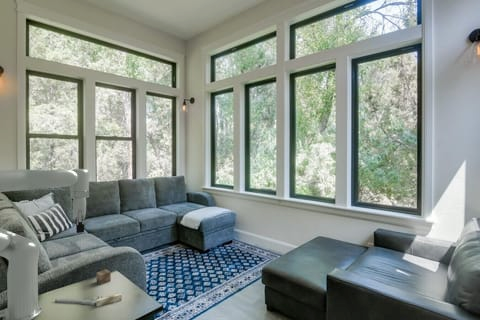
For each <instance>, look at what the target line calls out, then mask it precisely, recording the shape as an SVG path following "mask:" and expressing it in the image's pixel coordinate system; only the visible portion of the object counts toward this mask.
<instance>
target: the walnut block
mask: <svg viewBox="0 0 480 320" xmlns="http://www.w3.org/2000/svg"><path fill="white" fill-rule="evenodd" d="M111 274H112V273H111V271H109V270H108V269H103V270H101V271H96V276H95V277H96V283H97V284H99V285H100V286H101V285H104V284H107V283H110V282H111Z"/></svg>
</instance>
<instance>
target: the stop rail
mask: <svg viewBox="0 0 480 320" xmlns="http://www.w3.org/2000/svg"><path fill="white" fill-rule="evenodd" d="M122 299H123V297H122V293H121V292H120V293H117V294H112V295H110V296H104V297H102V298H101V299H97V305H96V307H101V306H104V305H108V304H112V303H116V302H120V301H122Z"/></svg>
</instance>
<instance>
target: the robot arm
mask: <svg viewBox="0 0 480 320" xmlns="http://www.w3.org/2000/svg"><path fill="white" fill-rule="evenodd" d="M65 187H70V199H73V201H72V219H73V220H76V226H75V227H76V228H75V230H76V234H79V233H80V234H81V233H85V222H84V221H85V220H84V219H85V218H86V215H87V214H86V213H87V198H90V171H89V170H88V169H86V168H74V169H63V168H57V169H55V170H54V169H52V170H51V169H49V170H48V169H47V170H44V169H43V170H42V169H41V170H40V169H26V168H25V169H22V168H21V169H0V193H5V192H16V191H31V190H32V191H33V190H40V189H55V188H65ZM39 256H40V246H39V245H38V244H37V242H36V241H34V240H33V239H31V238H28V237H25V236H22V235H20V234H17V233H14V232H13V231H10V230H7V229H4V228H2V227H0V257H3V258H5V259H7V260H8V267H7V274H6V275H7V276H6V279H7V281H6V282H7V284H6V285H7V287H6V288H7V289H6V291H7V308H6V307H5V308H4V309H1V310H0V319H1V318H2V320H33V319H36V318H37V317H39V315H41V314H42V312H43V310H44V308H43V305H41V304H39V278H38V277H39V275H38V268H39V267H38V266H39Z"/></svg>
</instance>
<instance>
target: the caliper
mask: <svg viewBox="0 0 480 320" xmlns="http://www.w3.org/2000/svg"><path fill="white" fill-rule="evenodd" d="M101 298H103V296H96V297H94V298H93V299H91V298H85V299H80V298H79V299H78V298H74V299H73V298H56V299H55V303H58V304H59V303H63V304H82V305H88V306H89V305H90V307H92V306H93V307H94V306H97V299H101Z"/></svg>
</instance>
